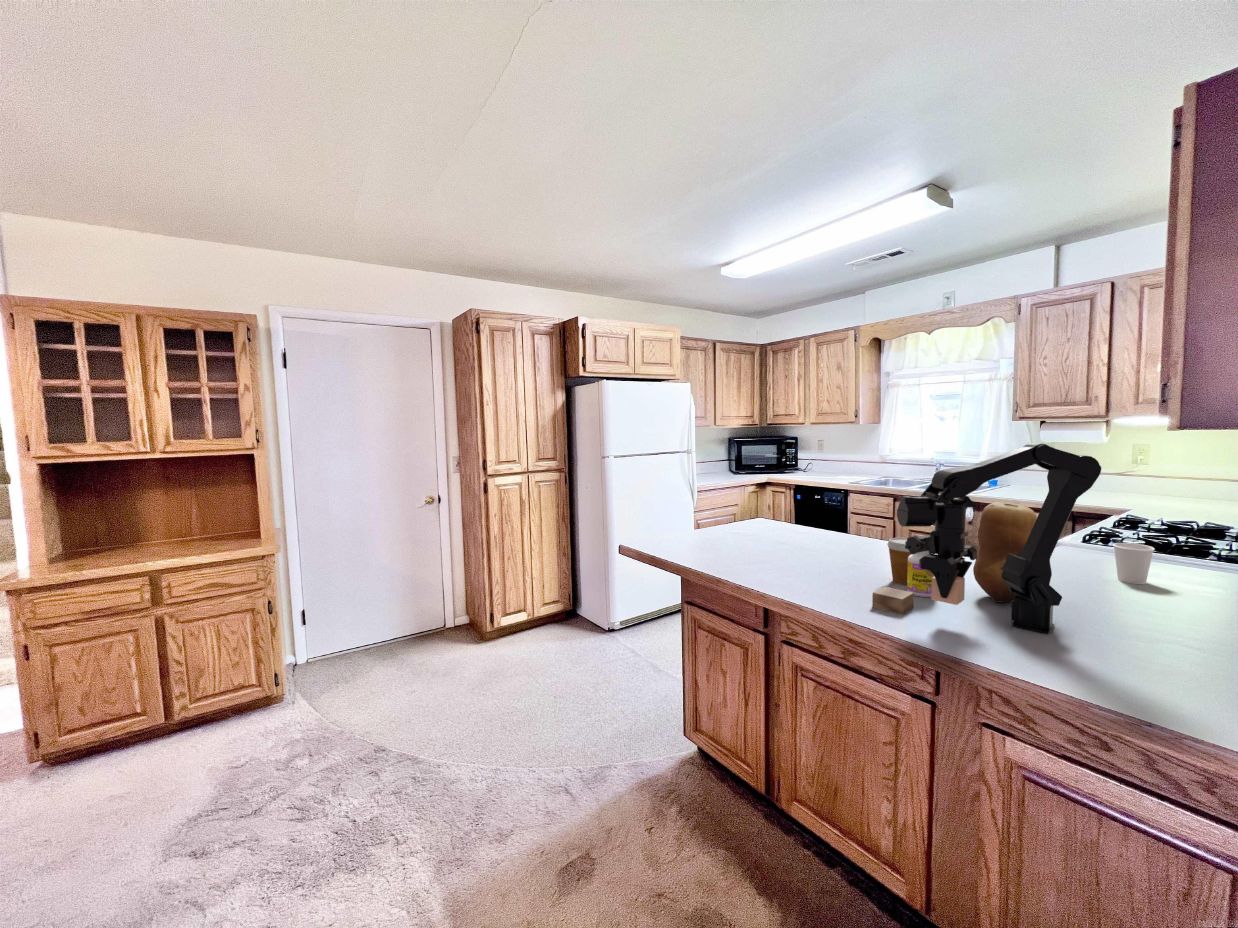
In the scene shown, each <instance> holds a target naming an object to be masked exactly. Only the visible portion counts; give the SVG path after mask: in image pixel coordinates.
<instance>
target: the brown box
mask: <svg viewBox="0 0 1238 928" xmlns="http://www.w3.org/2000/svg"><path fill="white" fill-rule="evenodd" d="M871 596H872V600H871V602H872V604H871V605H872V608H873V609H879V610H881V611H886V612H890V613H894V614H899V615H904V614H905V613H907V612H909V611H910V610H912V609H914V602H915V597H914V596H915V595H914V593H912V592H908V591H906V590H902V589H899V588H893V587H888V586H883V587H881V588H878V589H877V590H875V591H873V592H872V595H871Z"/></svg>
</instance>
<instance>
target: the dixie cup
mask: <svg viewBox="0 0 1238 928" xmlns="http://www.w3.org/2000/svg"><path fill="white" fill-rule="evenodd" d="M1112 546H1113V550H1114V560H1115V567H1116V575H1117V580H1118V581H1120V582H1122V583H1123V582H1124V583H1128V584H1136V585H1145V584H1146V583H1147V579H1148V576H1149V571H1150V567H1151V562H1152V558H1153V553H1154V551H1155V549H1156V548H1154V547H1153V546H1150V545H1145V544H1139V543H1132V542H1131V543H1129V542H1115V543H1113V544H1112Z"/></svg>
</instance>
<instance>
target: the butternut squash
mask: <svg viewBox="0 0 1238 928" xmlns="http://www.w3.org/2000/svg"><path fill="white" fill-rule="evenodd" d="M1037 517H1038V515H1037V514H1036V512H1035V511H1034V510H1033V509H1031V508H1030V507H1028V506H1026V505H1023V504H1019V503H1015V504H1014V503H1010V502H1009V503H1007V502H1001V501H997V502H996V501H994V502H992V503H991V502H990V503H989V504H988V505H986V506H985V507H984V508H983V510H982V511H981V515H980V518H979V526H978V530H977V539H978V551H977V559H975V560H974V565H973V568H972V571H973V576H974V579H975V582H976V583H977V585H978V586H979V587H980V588H981V589H982V590H983V592H985V594H986V595H987V596H988V597H989V598H990V599H991V600H993V601H994V602H996V603H1005V602H1008V603H1009V602H1012V603H1013V602H1014V601H1015V597H1016V596H1017V595H1015V594H1012V593H1011V592H1010V589H1009V587H1008V586H1007V585H1006V584H1005V583H1004V580H1003V579H1002V572H1003V570H1001V568H1002V567H1003V565H1004V564H1005V561H1006V557H1007V555H1008V554H1012V555H1017V554H1018V553H1019V552H1021V551H1022V550H1023V548H1024V546H1025V544H1026V542H1027V539H1028V537H1029V535H1030V533H1031V530H1032V528H1033V526H1034V524H1035V521H1036V519H1037Z"/></svg>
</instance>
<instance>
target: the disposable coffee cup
mask: <svg viewBox="0 0 1238 928" xmlns="http://www.w3.org/2000/svg"><path fill="white" fill-rule="evenodd" d="M907 538H908V537H907ZM907 538H906V537H894V538H893V537H892V538H889V539H888V542H887V543H886V545H887V548H888V552H889V559H890V567H891V568H890V569H891V577H892V582H893V583H895V584H898V585H903V586H907V575H908V557H909V556H910V555H911V554H910V552H909V550H908V549H906V548H905V545H906V544H905V542H906V541H907Z"/></svg>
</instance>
